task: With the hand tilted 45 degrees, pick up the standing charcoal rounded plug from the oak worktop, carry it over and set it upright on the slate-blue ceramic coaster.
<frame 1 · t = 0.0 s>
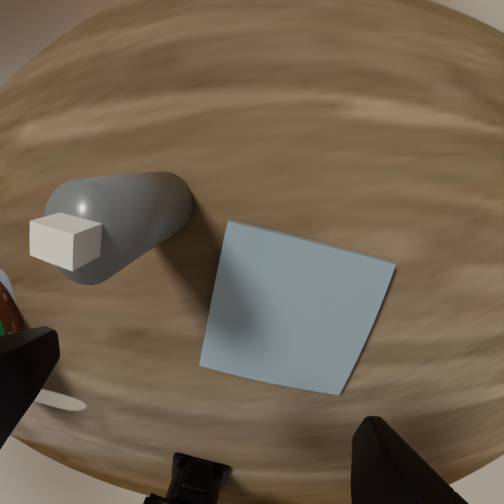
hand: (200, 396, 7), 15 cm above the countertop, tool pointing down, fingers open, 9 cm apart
grey tall rounded piece: (162, 203, 21), on the countertop
coaster: (292, 317, 22), on the countertop
food container: (13, 321, 26), on the countertop
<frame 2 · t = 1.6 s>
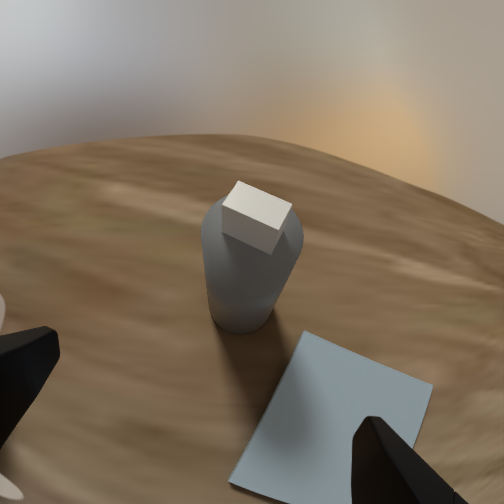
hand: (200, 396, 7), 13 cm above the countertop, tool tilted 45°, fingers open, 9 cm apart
grey tall rounded piece: (240, 303, 22), on the countertop
coaster: (341, 436, 18), on the countertop
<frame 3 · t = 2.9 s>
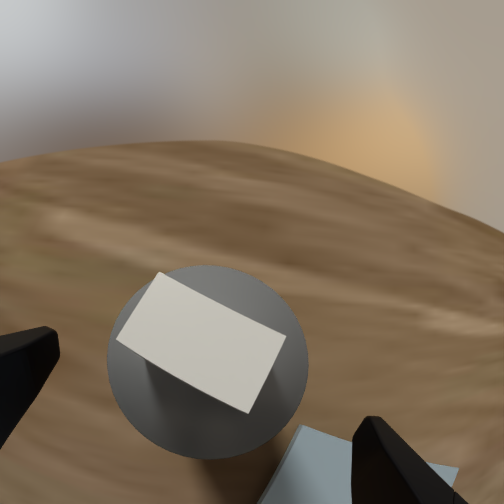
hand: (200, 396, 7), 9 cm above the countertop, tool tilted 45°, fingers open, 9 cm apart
grey tall rounded piece: (215, 386, 15), on the countertop
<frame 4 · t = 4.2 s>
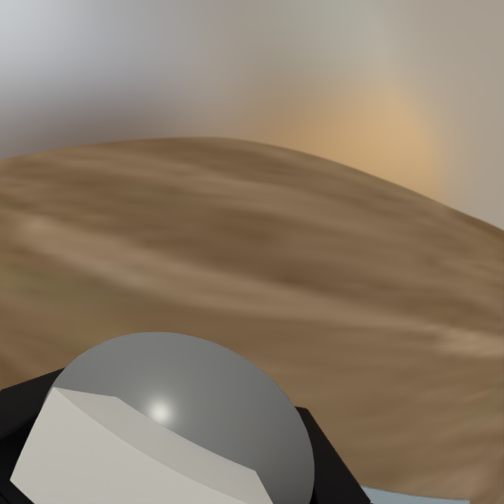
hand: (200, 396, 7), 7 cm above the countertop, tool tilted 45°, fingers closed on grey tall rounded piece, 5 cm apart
grey tall rounded piece: (203, 426, 12), on the countertop, touching gripper
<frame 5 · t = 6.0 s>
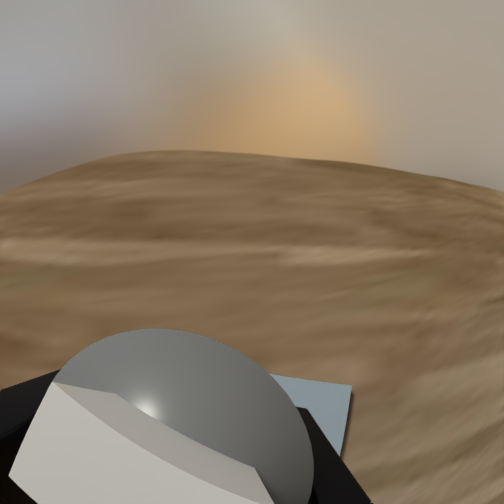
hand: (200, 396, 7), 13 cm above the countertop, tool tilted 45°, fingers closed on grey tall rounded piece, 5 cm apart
grey tall rounded piece: (202, 425, 12), point 7 cm above the countertop, touching gripper
coaster: (251, 455, 17), on the countertop
when the fingers open (8 cm above the countertop, at t = 7.9 s): grey tall rounded piece drops 1 cm, resting on coaster.
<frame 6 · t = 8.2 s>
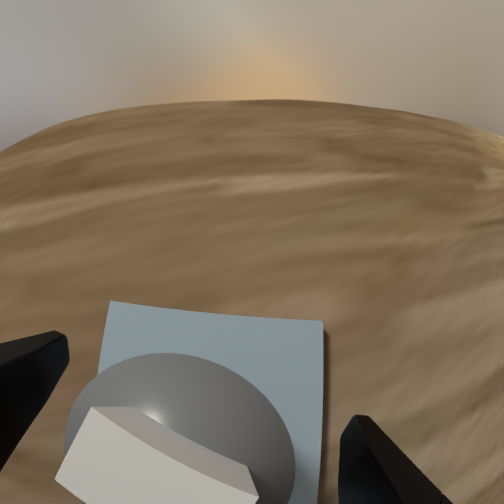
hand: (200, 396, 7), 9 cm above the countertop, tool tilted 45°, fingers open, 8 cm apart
grey tall rounded piece: (204, 425, 13), point 1 cm above the countertop, touching coaster
coaster: (205, 423, 14), on the countertop
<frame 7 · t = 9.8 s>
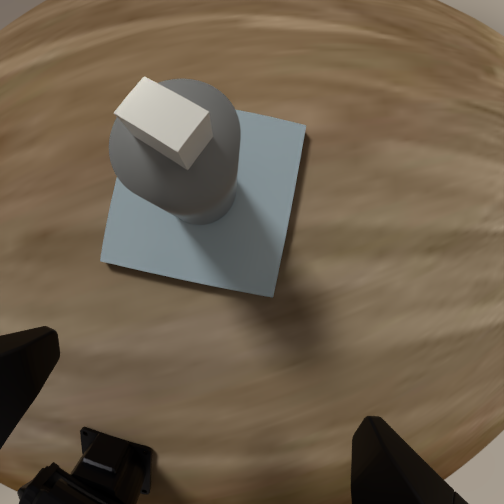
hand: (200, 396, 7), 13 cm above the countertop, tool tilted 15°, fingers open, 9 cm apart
grey tall rounded piece: (200, 189, 19), point 1 cm above the countertop, touching coaster
coaster: (202, 190, 20), on the countertop
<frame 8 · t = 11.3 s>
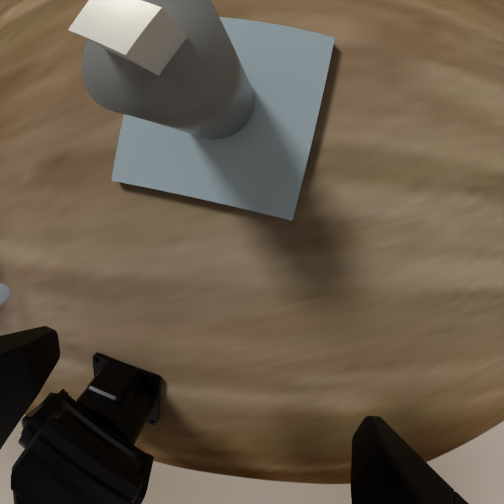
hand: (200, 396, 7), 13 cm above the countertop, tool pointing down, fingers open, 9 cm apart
grey tall rounded piece: (215, 102, 16), point 1 cm above the countertop, touching coaster
coaster: (218, 104, 17), on the countertop
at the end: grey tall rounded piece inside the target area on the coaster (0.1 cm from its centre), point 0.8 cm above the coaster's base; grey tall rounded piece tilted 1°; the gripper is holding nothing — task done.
